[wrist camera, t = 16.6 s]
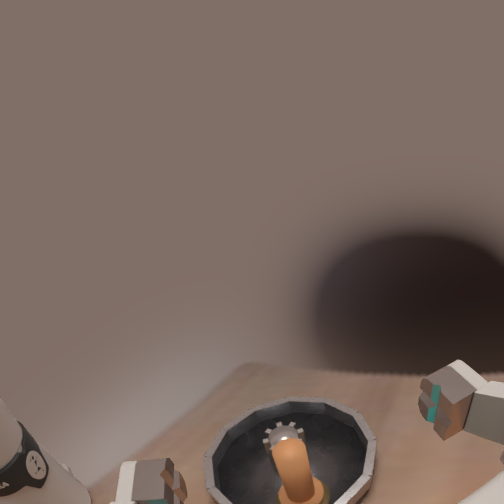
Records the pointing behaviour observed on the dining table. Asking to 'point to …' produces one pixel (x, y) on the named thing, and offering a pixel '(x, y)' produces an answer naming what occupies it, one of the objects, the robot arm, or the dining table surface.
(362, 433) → the bowl
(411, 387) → the dining table surface
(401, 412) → the dining table surface
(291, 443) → the peg on round base
